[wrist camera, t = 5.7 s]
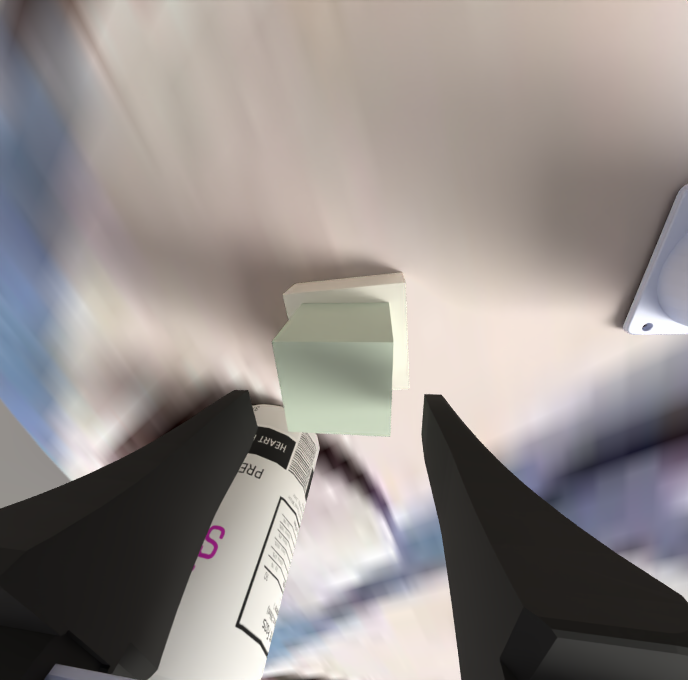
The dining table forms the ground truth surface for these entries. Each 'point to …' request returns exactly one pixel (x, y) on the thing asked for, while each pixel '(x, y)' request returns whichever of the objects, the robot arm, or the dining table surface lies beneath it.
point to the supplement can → (244, 560)
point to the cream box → (363, 291)
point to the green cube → (337, 368)
